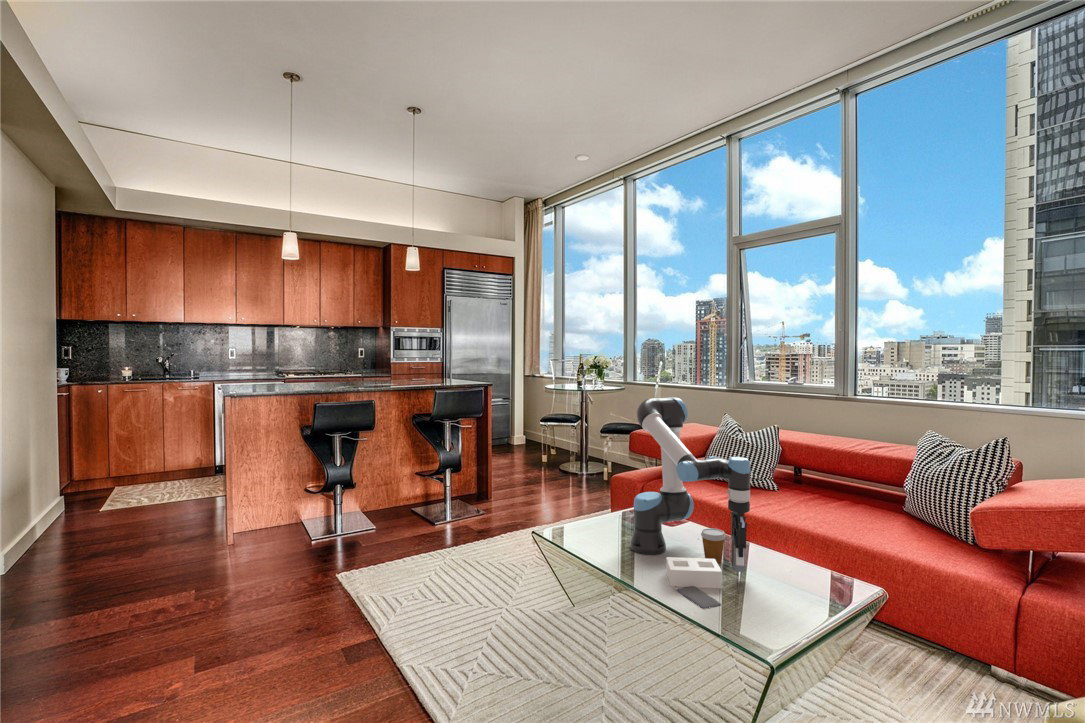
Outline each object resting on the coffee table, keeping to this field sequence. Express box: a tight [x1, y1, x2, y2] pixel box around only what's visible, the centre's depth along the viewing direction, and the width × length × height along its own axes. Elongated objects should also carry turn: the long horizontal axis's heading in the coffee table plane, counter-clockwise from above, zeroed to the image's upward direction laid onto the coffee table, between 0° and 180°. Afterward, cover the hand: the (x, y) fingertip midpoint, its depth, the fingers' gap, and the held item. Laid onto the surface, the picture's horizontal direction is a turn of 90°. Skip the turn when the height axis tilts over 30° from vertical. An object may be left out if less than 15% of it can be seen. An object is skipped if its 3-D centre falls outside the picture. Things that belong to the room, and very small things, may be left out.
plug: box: [730, 534, 747, 573], centre depth 192 cm, size 4×4×12 cm
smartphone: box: [676, 586, 722, 609], centre depth 178 cm, size 8×1×15 cm
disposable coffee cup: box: [700, 527, 726, 565], centre depth 210 cm, size 10×10×12 cm
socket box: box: [665, 556, 723, 589], centre depth 192 cm, size 12×18×6 cm
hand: (738, 562), depth 192 cm, fingers closed on plug, 4 cm apart
